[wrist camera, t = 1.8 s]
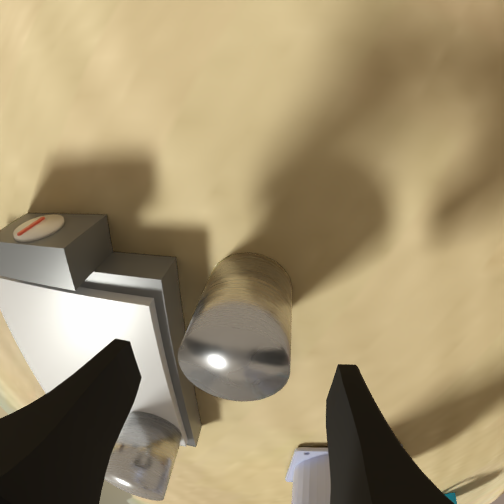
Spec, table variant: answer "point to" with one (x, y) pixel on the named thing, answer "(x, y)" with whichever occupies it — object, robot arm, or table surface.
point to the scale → (95, 309)
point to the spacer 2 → (241, 330)
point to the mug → (451, 497)
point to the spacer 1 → (144, 455)
